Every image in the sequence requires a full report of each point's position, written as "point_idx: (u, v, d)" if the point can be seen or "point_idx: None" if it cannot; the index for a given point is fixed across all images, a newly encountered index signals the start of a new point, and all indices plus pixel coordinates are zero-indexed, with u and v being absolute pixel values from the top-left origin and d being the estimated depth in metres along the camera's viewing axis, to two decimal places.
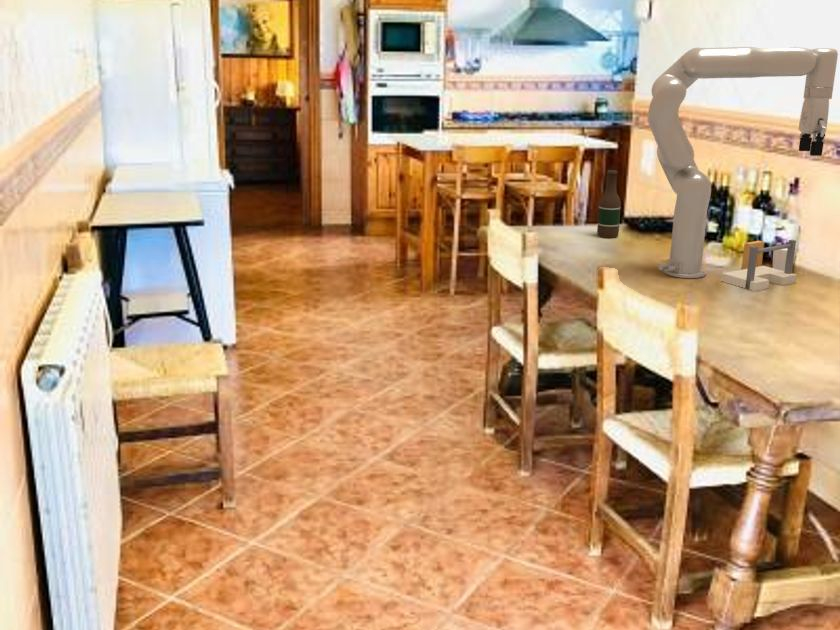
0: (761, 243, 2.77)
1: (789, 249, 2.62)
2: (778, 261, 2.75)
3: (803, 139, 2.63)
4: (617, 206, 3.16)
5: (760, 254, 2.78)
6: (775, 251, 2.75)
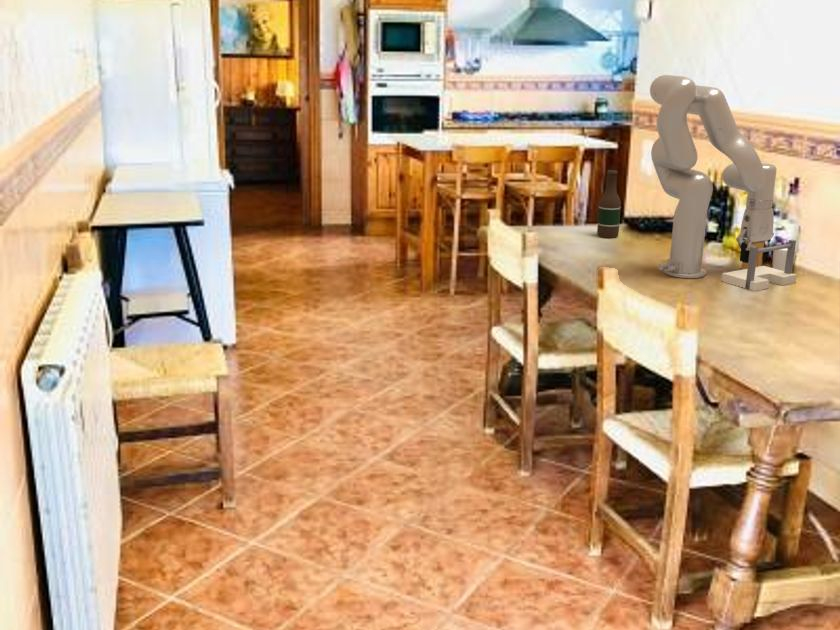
0: (761, 243, 2.77)
1: (789, 249, 2.62)
2: (778, 261, 2.75)
3: None
4: (617, 206, 3.16)
5: (760, 254, 2.78)
6: (775, 251, 2.75)
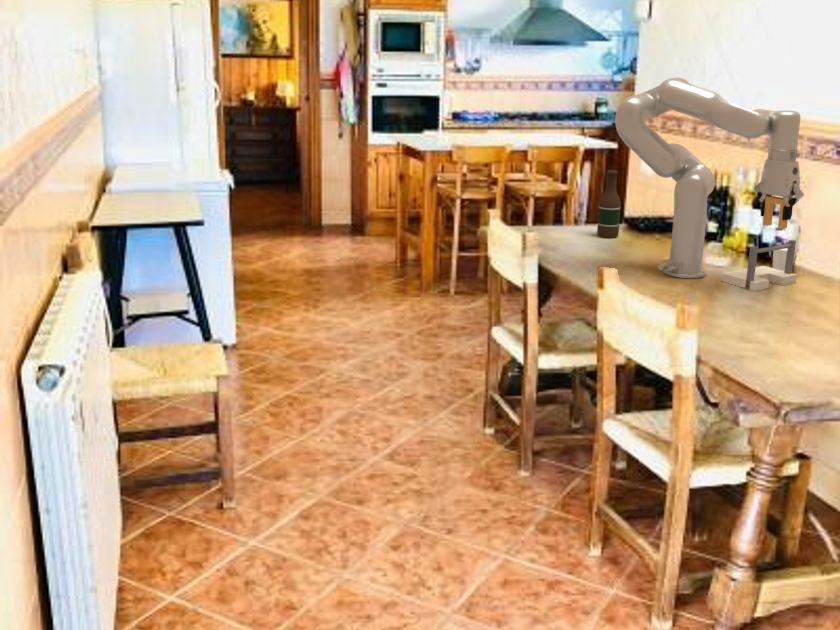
0: None
1: (789, 249, 2.62)
2: (778, 261, 2.75)
3: None
4: (617, 206, 3.16)
5: None
6: (775, 251, 2.75)
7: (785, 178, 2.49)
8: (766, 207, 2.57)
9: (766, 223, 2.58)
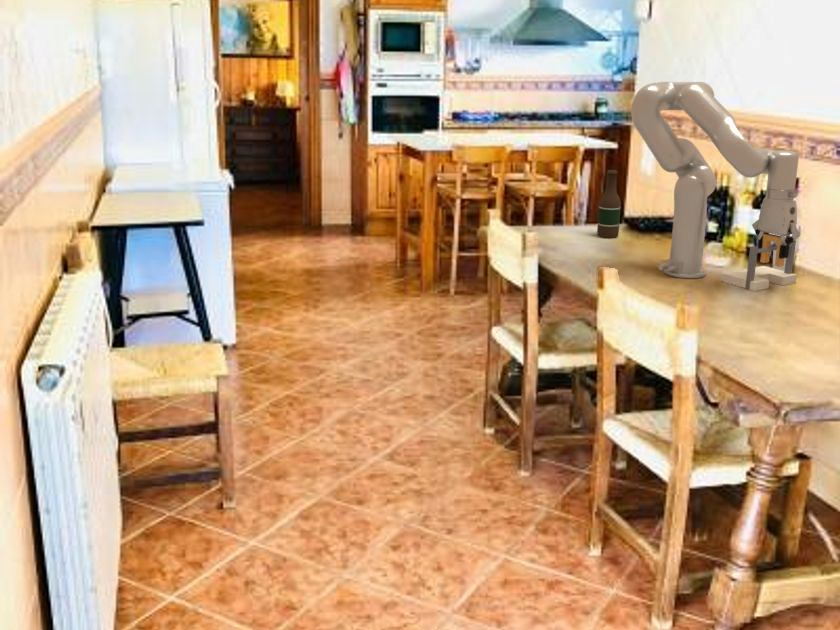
0: None
1: (789, 249, 2.62)
2: None
3: None
4: (617, 206, 3.16)
5: None
6: (775, 251, 2.75)
7: (782, 217, 2.51)
8: (764, 244, 2.60)
9: (763, 260, 2.61)
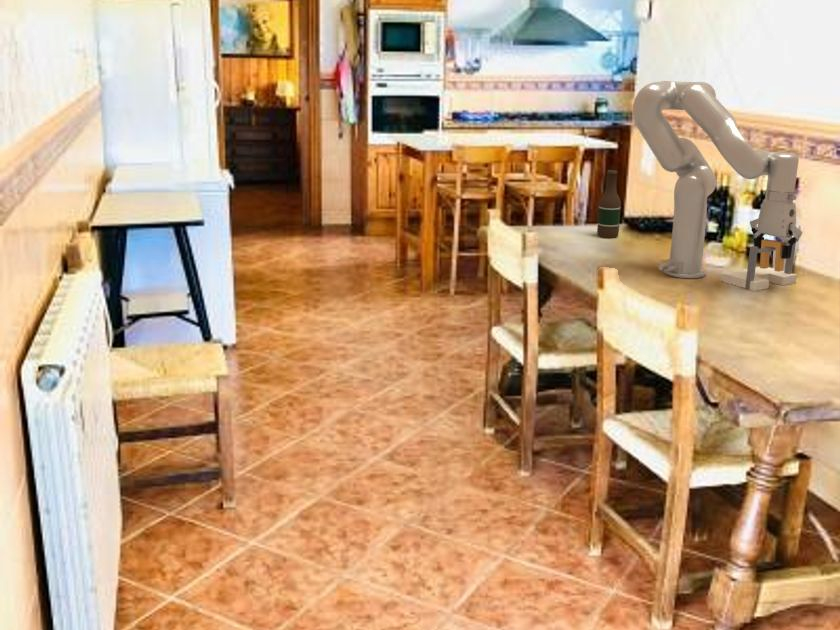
0: None
1: None
2: None
3: None
4: (617, 206, 3.16)
5: None
6: (775, 251, 2.75)
7: (782, 219, 2.51)
8: None
9: (763, 266, 2.61)
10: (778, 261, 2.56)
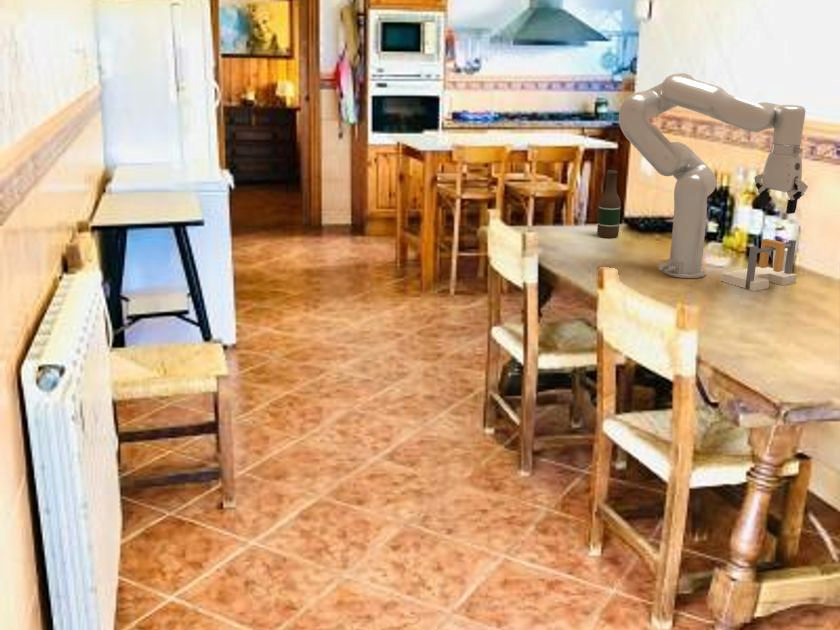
0: None
1: (789, 249, 2.62)
2: None
3: None
4: (617, 206, 3.16)
5: None
6: (775, 251, 2.75)
7: (787, 173, 2.47)
8: None
9: (762, 265, 2.61)
10: (777, 261, 2.56)
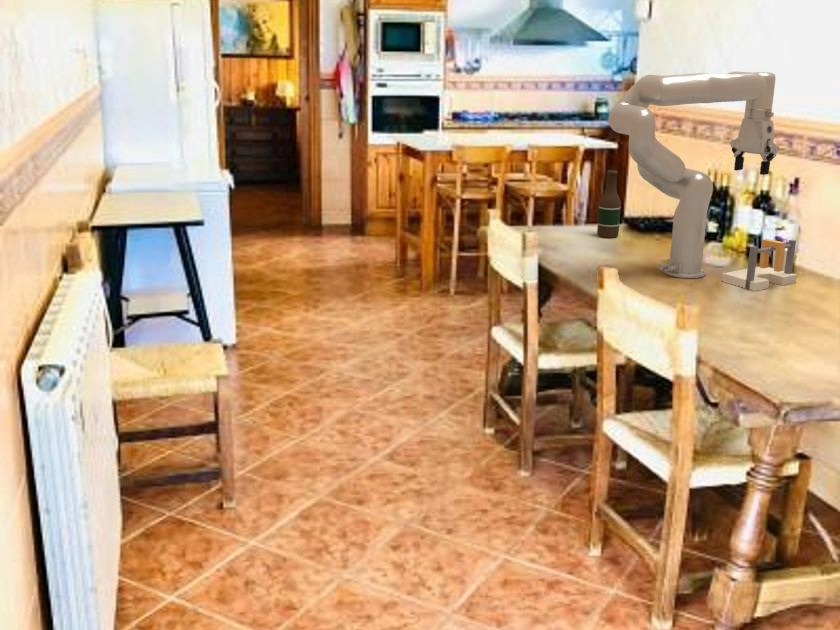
0: None
1: (789, 249, 2.62)
2: None
3: None
4: (617, 206, 3.16)
5: None
6: (775, 251, 2.75)
7: (760, 136, 2.63)
8: None
9: (762, 266, 2.61)
10: (778, 261, 2.56)
